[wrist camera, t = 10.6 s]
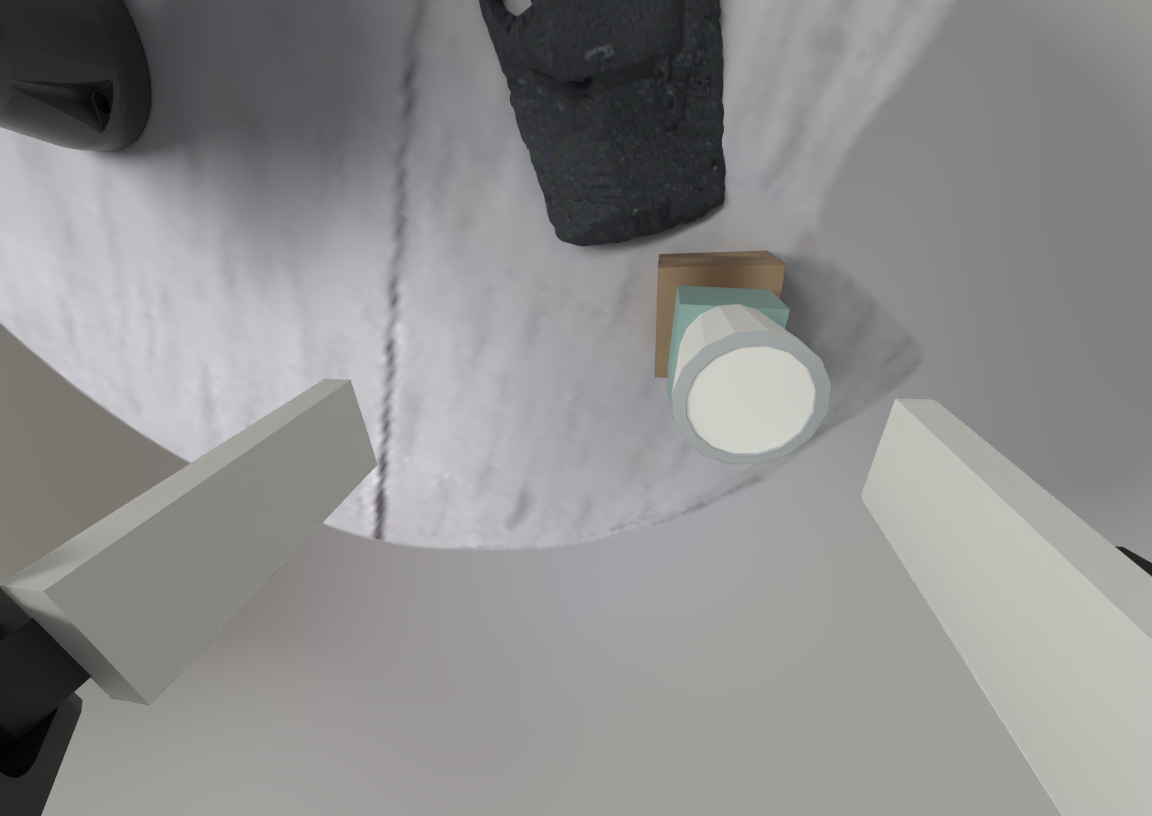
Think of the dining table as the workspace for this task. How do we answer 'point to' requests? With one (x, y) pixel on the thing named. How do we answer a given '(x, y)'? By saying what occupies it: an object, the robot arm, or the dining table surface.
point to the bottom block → (708, 284)
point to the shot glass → (746, 387)
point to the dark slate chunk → (617, 110)
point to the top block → (706, 298)
